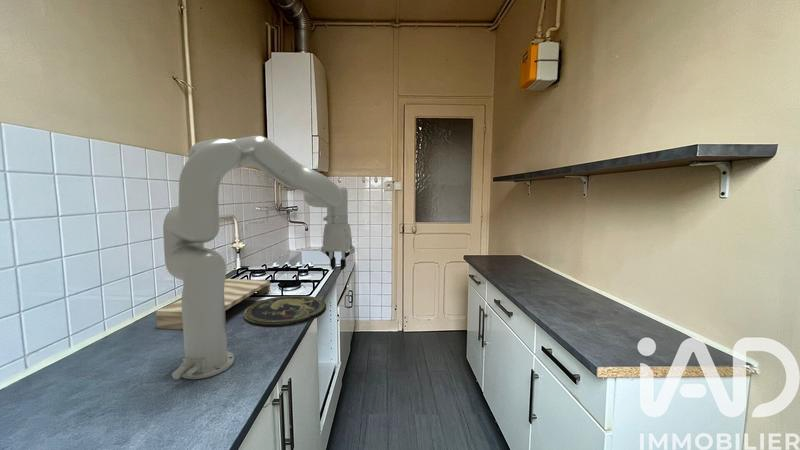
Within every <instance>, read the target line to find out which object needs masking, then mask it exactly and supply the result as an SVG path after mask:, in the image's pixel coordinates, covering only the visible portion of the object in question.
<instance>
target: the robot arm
mask: <svg viewBox="0 0 800 450" xmlns="http://www.w3.org/2000/svg"><path fill="white" fill-rule="evenodd" d="M187 157H188V160H187V161H186V163H184V165H183V167H182V170H181V172H180V175H179V180H178V205H177V206H174V207H172V208H171V209H170V210H169V211H167V214H166V215H165V217H164V220H163V226H162V230H163V231H162V233H163V234H162V235H163V251H164V252H163V253H164V264H165V267H166V270H167V273H169V274H170V275H171V276H172V277H174V278H176V279H178V280H180V281H182V282H183V283H182V285H183V286H182V293H181V299H180V300H181V307H182V320H183V329H182V331H183V334H182V335H183V347H184V358H182V363H181V364H180V365H179V366H178V368H177V369H176V370H175V371H173V372H172V373H171V377H172V378H173V379H174V380H178V379H180V378H184V379H186V380H200V379H207V378H211V377H213V376H216V375H218V374H221V373H224V372H225V371H227V370H228V369H229V368H230V367H231V366H232V365H233V364H234V363H235V355H234V354H233V352H230V351H228V343H227V324H226V321H227V320H226V310H225V301H224V286H225V280H226V279H227V278H226V277H227V276H226V275H227V264H226V261H225V259H224V257H223V256H222V255H221V253H219V252H218V251H216V250H214V249H211V248H208V247H207V248H206V247H205V244H204V243H209V242H212V241H213V240H214V239H215V238H216V237H218V234H219V231H220V205H219V204H220V203H219V193H220V190H219V189H220V187H221V186H220V185H221V182H222V180H223V178H224V177H225V176H226V174H227V173H229V172H230V171H232V170H235V169H240V168H245V167H255V168H258V169H259V170H261V171H262V172H264V173H265V174H266V175H268V176H270V177H271V178H272V179H274V180H275V181H276V182H278V183H279V184H281V185H282V186H285V187H287V188H291V189H295V190H299V191H303V192H304V195H303V198H304V202H305V203H306V204H307V205H309V206H311V207H312V208H326V216H323V218H322V219H323V222H324V221H326V223H324V227H323V234H322V246H321V248H320V252H321V253H322V254H324V255H326V256H327V257H328V259H329V260H330V261H329V262H330V263H329V266H330V268H331V271H334V270H335V269H336V265H337V264H336V262H337V261H336V257H335V252H338V253H339V252H340V253H341V259H340V261H339V263H340V271H344V269H345V268H346V266H347V265H346V264H347V261H346V260H347V257H348V256H350V255H352V254H353V253H355V252H356V249H355V247H354V245H353V237H352V230H351V225H350V223H349V220H348V219H349V216H348V215H349V210H348V208H349V205H348V204H349V203H348V202H349V201H348V200H349V199H348V197H349V196H348V193H349V192H348V188H347V187H345V186H338V185H337V184H336V183H335V182H334V181H332V180H331V178H328V177H327V176H325V175H324V174H322V173H321V172H318V171H316V170H314V169H312V168H310V167H308V166H306V165H303V164H301V163H299V162H298V161H297V160H295V159H294V158H293V157H292V156H290V155H289V154H287V152H286V151H284V150H283V149H281V148H280V147H279V146H278V145H276V143H274V142H273V141H271V140H270V139H268V138H267V137H266V136H263V135H251V136H246V137H241V138H240V137H239V138H233V139H230V138H225V137H224V138H223V137H222V138H221V137H219V138H212V139H208V140H203V141H198V142H196V143H195V144H193V145H192V146H191V147H190V149H189V150H188V155H187Z"/></svg>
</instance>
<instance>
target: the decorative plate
mask: <svg viewBox="0 0 800 450" xmlns="http://www.w3.org/2000/svg"><path fill="white" fill-rule="evenodd" d="M326 311H327V304H326V302H325V301H324V300H323V299H321V298H319V297H315V296H310V295H295V294H294V295H293V294H292V295H282V296H275V297H274V296H273V297H270V298H266V299H263V300H259V301H258V302H255V303H253V304H251V305H249V306H248V307H247V308H246V309H245V310H244V312H243V316H242V317H243V319H244V321H246V322H247V323H249V324H250V325H252V326H258V327H265V328H280V327H289V326H290V327H291V326H295V325H301V324H304V323H307V322H311V321H313V320H315V319H317V318H319V317H321V316H322V315H323V314H325V312H326Z"/></svg>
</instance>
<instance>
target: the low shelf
mask: <svg viewBox="0 0 800 450" xmlns="http://www.w3.org/2000/svg"><path fill="white" fill-rule="evenodd" d="M255 292H257V293H269V292H270V293H271V280H270V279H245V278H238V279H237V278H225V286H224V301H225V311H228V310H229V309H230V308H232V307H234V306H235V305H237V304H239V303H240V302H242V301H243V300H245V299H247V298H249V297H250V296H252V295H255V294H254V293H255ZM155 314H156V325H157V326H156V328H157V329H165V330H167V329H170V330H183V320H182V307H181V299H180V300H179V299H178V300H177V301H175V302H173V303H170V304H169V305H166V306H164V307H162V308H160V309H157V310H156V311H155Z"/></svg>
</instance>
